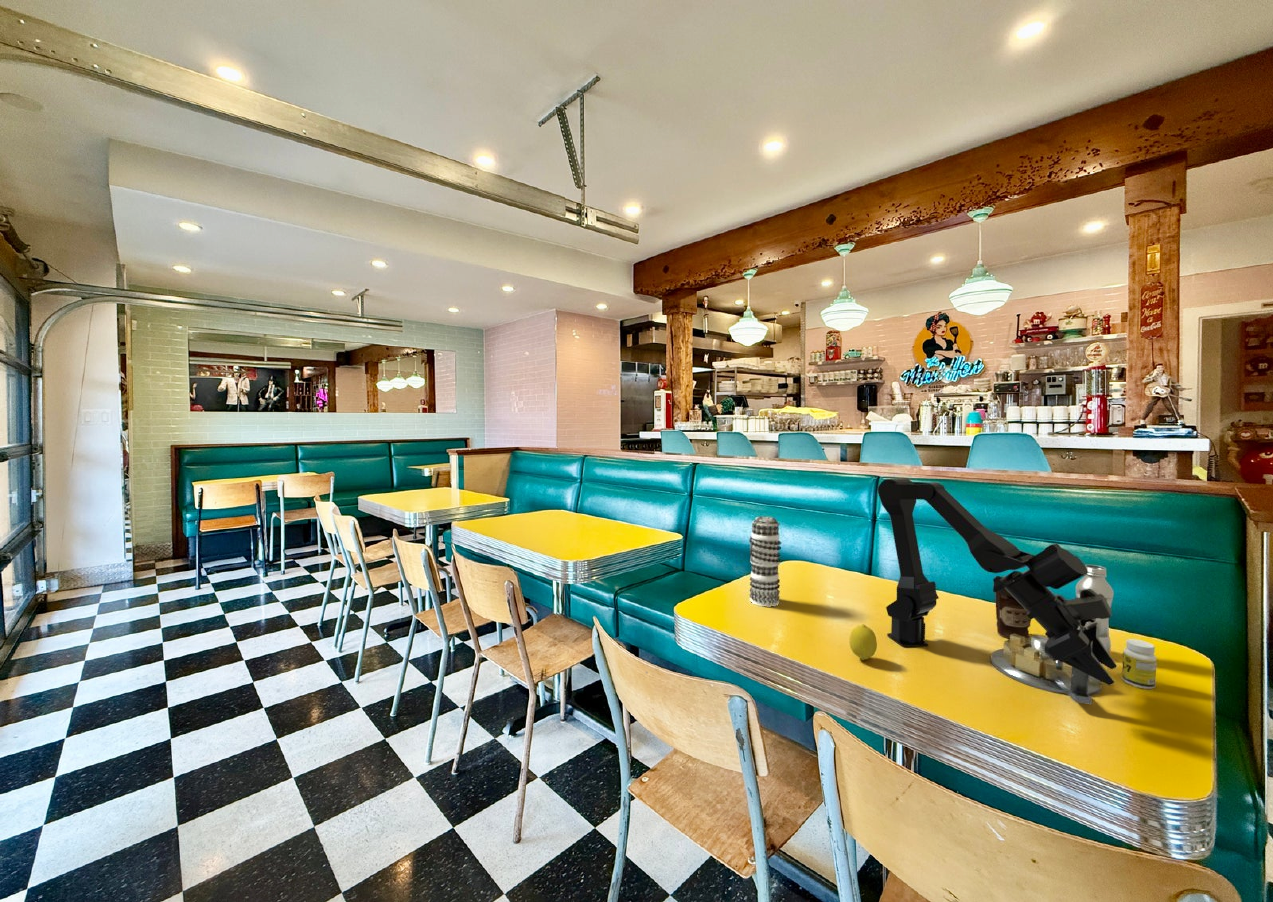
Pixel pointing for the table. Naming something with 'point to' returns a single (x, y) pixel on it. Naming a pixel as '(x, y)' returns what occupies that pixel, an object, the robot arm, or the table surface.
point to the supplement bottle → (1139, 664)
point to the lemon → (863, 642)
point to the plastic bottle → (1099, 586)
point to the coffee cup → (1010, 615)
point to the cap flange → (1031, 679)
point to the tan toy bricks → (1047, 668)
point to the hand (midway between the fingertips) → (1113, 675)
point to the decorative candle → (765, 562)
